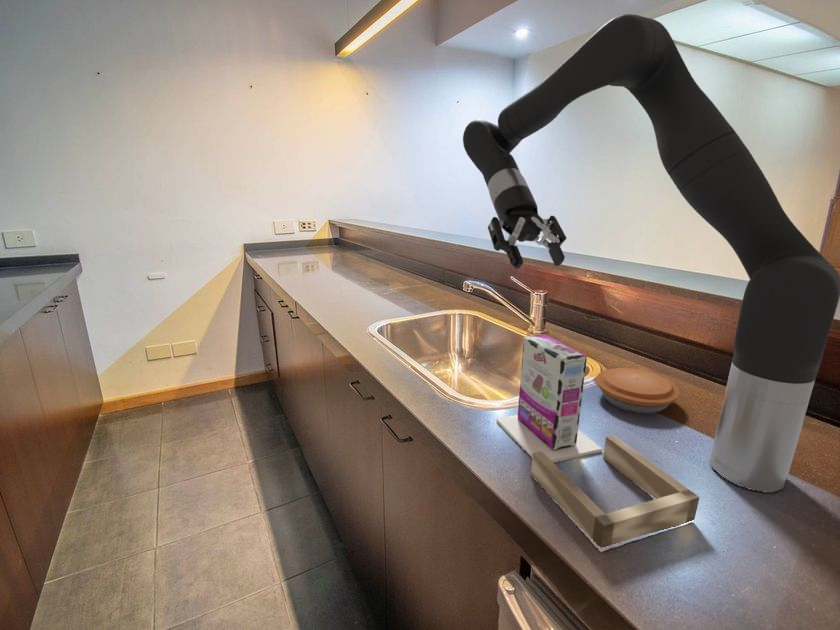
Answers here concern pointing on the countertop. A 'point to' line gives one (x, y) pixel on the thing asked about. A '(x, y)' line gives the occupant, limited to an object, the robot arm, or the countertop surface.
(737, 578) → the countertop surface
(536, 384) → the candy bar box
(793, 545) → the countertop surface
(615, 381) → the pie
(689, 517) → the frame
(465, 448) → the countertop surface
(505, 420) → the mat
